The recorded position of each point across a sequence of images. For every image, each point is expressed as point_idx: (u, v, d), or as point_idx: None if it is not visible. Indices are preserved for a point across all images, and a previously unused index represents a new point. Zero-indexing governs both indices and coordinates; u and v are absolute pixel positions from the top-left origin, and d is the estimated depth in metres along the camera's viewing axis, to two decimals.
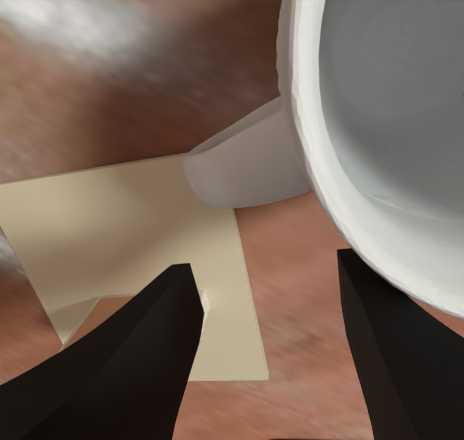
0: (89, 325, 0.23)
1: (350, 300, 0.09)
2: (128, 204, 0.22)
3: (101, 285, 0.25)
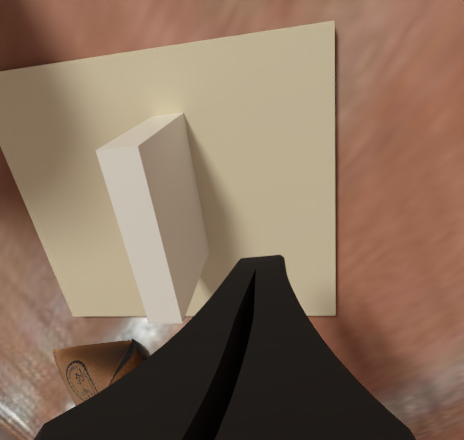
0: None
1: None
2: (56, 187, 0.20)
3: None
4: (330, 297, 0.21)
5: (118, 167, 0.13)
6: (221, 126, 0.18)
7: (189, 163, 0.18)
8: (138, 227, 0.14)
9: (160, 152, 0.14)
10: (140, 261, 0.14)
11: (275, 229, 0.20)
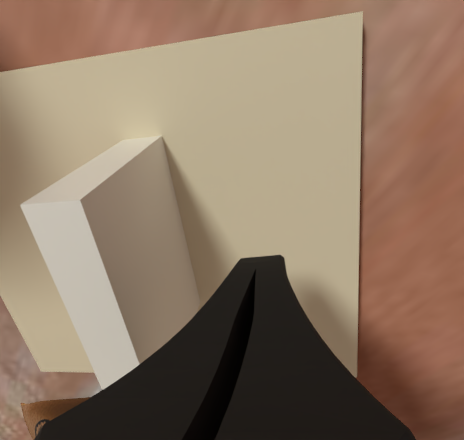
0: None
1: None
2: (9, 226, 0.16)
3: None
4: (351, 356, 0.17)
5: (55, 228, 0.09)
6: (211, 152, 0.14)
7: (171, 199, 0.14)
8: (91, 306, 0.10)
9: (123, 198, 0.10)
10: (98, 348, 0.10)
11: None
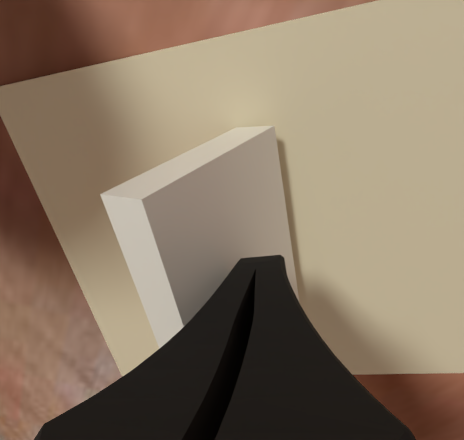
0: None
1: None
2: (102, 226, 0.16)
3: None
4: None
5: (125, 221, 0.09)
6: (334, 135, 0.13)
7: (275, 197, 0.13)
8: (157, 300, 0.10)
9: (203, 197, 0.10)
10: (164, 339, 0.11)
11: (398, 268, 0.15)
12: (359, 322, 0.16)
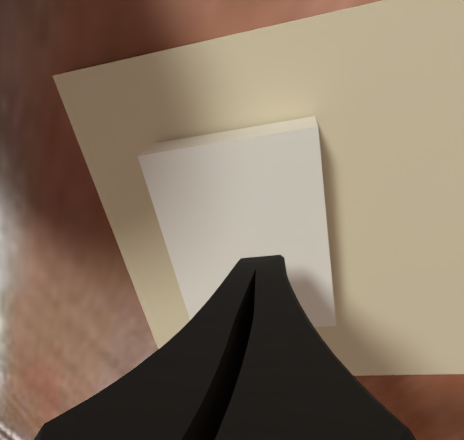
0: None
1: None
2: None
3: None
4: None
5: None
6: (422, 123, 0.12)
7: (306, 200, 0.12)
8: None
9: (196, 170, 0.12)
10: None
11: None
12: (428, 320, 0.16)
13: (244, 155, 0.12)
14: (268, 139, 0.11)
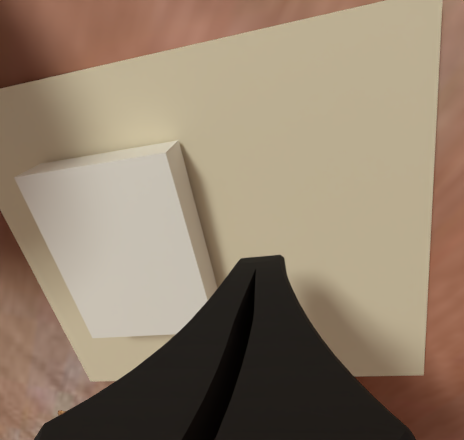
0: None
1: None
2: None
3: None
4: (418, 354, 0.16)
5: None
6: (275, 146, 0.13)
7: (168, 218, 0.13)
8: None
9: (67, 190, 0.13)
10: None
11: (346, 274, 0.15)
12: None
13: (106, 177, 0.13)
14: (125, 163, 0.12)
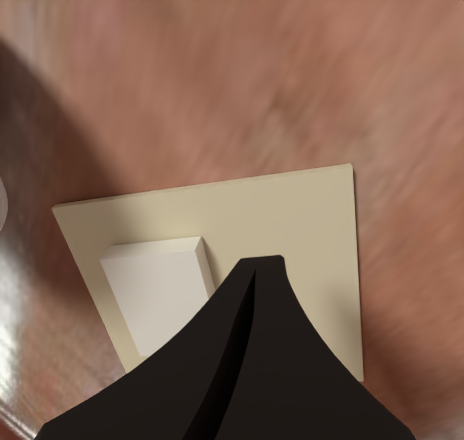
0: None
1: None
2: None
3: None
4: (358, 367, 0.25)
5: None
6: (260, 241, 0.21)
7: (195, 285, 0.21)
8: None
9: (132, 268, 0.21)
10: None
11: (308, 316, 0.23)
12: None
13: (158, 262, 0.21)
14: (170, 254, 0.20)
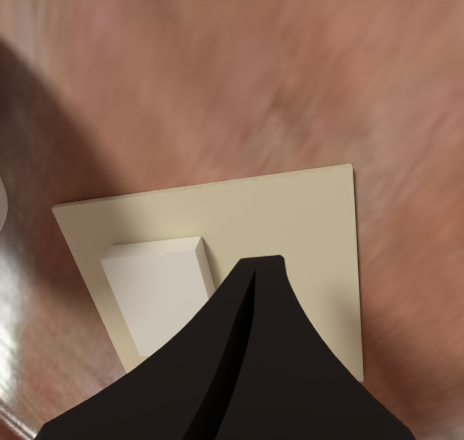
0: None
1: None
2: None
3: None
4: (358, 367, 0.25)
5: None
6: (260, 241, 0.21)
7: (195, 285, 0.21)
8: None
9: (132, 268, 0.21)
10: None
11: (308, 316, 0.23)
12: None
13: (158, 262, 0.21)
14: (170, 254, 0.20)
